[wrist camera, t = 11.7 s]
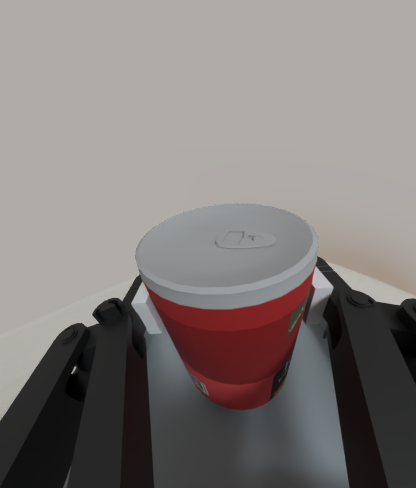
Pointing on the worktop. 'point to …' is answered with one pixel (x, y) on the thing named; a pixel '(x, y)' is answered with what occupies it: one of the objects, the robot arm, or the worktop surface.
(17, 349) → the worktop surface
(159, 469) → the tray
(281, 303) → the canned food
